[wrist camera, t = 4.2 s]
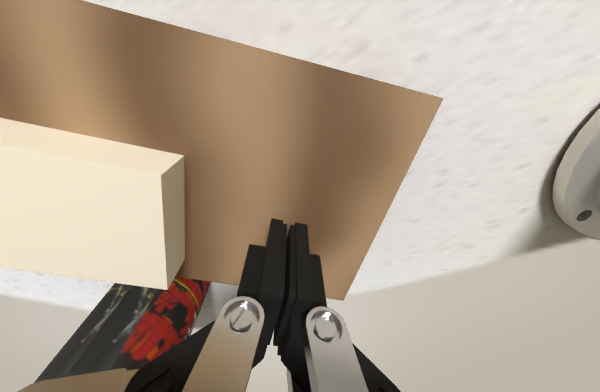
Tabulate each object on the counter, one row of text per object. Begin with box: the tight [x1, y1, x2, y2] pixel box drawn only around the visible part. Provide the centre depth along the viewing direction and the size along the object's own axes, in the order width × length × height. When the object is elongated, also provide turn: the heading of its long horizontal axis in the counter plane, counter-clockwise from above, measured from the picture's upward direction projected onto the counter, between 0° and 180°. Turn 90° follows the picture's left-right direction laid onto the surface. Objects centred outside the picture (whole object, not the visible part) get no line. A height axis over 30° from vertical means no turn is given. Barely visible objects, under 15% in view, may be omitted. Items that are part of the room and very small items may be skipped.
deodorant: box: [33, 277, 210, 384], centre depth 12 cm, size 6×6×15 cm
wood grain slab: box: [0, 0, 443, 300], centre depth 12 cm, size 20×12×4 cm, turn 77°
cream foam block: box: [0, 118, 185, 290], centre depth 10 cm, size 9×6×2 cm, turn 77°
